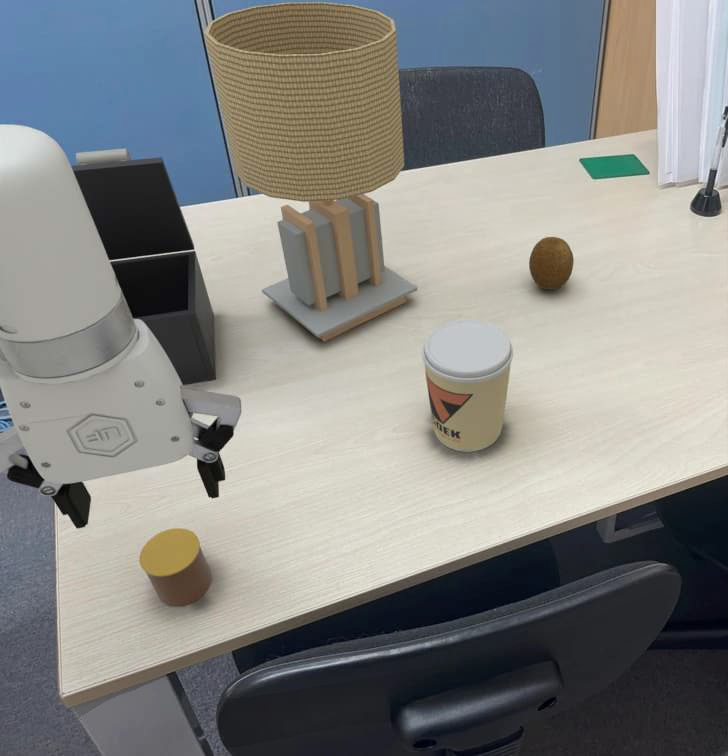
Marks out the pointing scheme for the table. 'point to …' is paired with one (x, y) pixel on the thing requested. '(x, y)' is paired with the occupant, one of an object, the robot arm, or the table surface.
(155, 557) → the cylinder
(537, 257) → the fruit
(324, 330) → the desk lamp
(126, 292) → the dark grey hollow box
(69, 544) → the table surface
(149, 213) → the lid
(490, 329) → the coffee cup
